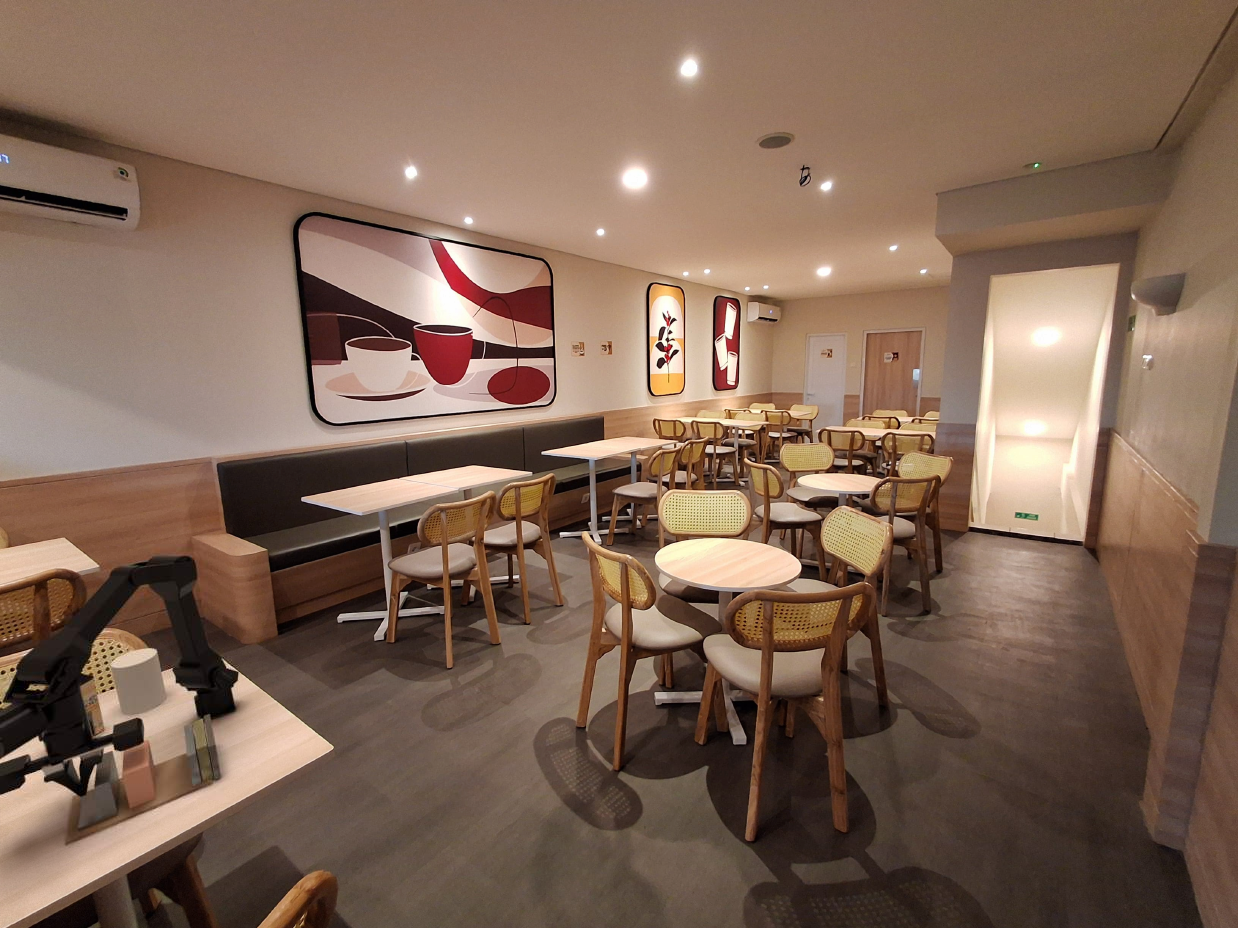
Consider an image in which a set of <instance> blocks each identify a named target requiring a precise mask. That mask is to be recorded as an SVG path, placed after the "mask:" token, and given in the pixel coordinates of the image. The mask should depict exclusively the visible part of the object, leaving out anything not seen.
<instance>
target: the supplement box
mask: <svg viewBox="0 0 1238 928" xmlns="http://www.w3.org/2000/svg"><path fill="white" fill-rule="evenodd" d="M96 687H97V686H96V684H95V678H93V679H92V680H91V681H89V682H87V683H85V684H84V685H82V686H81V691H82V695H83V699H84V703H85V707H86V710H87V712H89V711H92V717H93V722H94V727H95V731H96V732H95V735H94V736H96V735H97V734H99V733H101V732H103V731H104V730H105V729H106V727H105V723H104V719H103V716H102V712H101V711H102V710H101V706H100V701H99V697H98V692H97V688H96ZM42 743H43V746H44V750H45V753H47V751H46V748H45V744H44V741H42Z"/></svg>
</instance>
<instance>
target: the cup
mask: <svg viewBox="0 0 1238 928" xmlns="http://www.w3.org/2000/svg"><path fill="white" fill-rule="evenodd" d="M110 668H111V672H112V673H111V674H112V677H113V681H114V685H115V690H116V695H117V697H118V702H119V707H120V712H121V714H123V715H126V716H128V715H129V716H132V715H133V716H134V715H139V714H142V713H146V712H147V711H151V710H152V709H155V708H156V707H158V706H160V705H162V704H163V703H164V702H165V700H166V699H167V692H166V688H165V687H166V686H165V683H164V678H163V674H162V669H161V664H160V660H159V655H158V651H157V648H149V647H148V648H147V647H146V648H140V649H136V650H133V651H130V652H126V653H125V654H121V655H120V656H118V657H117V658H115V659H113V660H112V661H111V663H110Z"/></svg>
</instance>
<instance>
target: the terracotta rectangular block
mask: <svg viewBox="0 0 1238 928" xmlns="http://www.w3.org/2000/svg"><path fill="white" fill-rule="evenodd" d="M151 749H152V748H151V744H150V740H149V739H146V740H144V742H143V743H142V744H141V745H138V746H136V747H133V748H130V749H127V750H125V751H122V754H123V755H122V768H121V769H122V772H121V773H122V776H121V778H123V781H124V785H125V790H126V794H127V798H128V802H129V807H130V809H131V808H133V807H136V806H138V805H141V804H143V803H146V802H148V801H150V800H153V799H155V798H156V777H155V767H154V765H155V762H154V760H153V759H154V758H153V753H152V750H151Z"/></svg>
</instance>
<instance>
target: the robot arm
mask: <svg viewBox="0 0 1238 928" xmlns="http://www.w3.org/2000/svg"><path fill="white" fill-rule="evenodd" d="M196 563H197V562H196V561H195V559H194V558H193V557H191V556H189V555H177V554H176V555H173V554H172V555H171V554H168V555H167V554H161V555H160V554H156V555H154V556H152V557H150V558H149V559H148V560H145V561H139V562H133V563H130V564H128V565H120V566H117V567H115V568H113V569H112V570H111V571H110V573H109V577H108V578H107V579H106V580H105V582H104V583H103V584H102V585H101V586H100V587H99V588H98V589H97V590H96V592H95V593H94V594H93V595H92V596H91V597H90V598H89V599H88V601H87V602H86V603H85V604H84V605H83V606H82V607H81V608H80V609H79V611H77V613H76V614H75V615H74V616H73V617H72V618H71V619H70V621H69V622H68V623H67V624H66V625H65V626H64V627H63V628H62V629H60V631H58V632H57V633H54V635H51V636H50V637H48V638H45V639H44V640H42V641H40V642H39V643H38V644H37V645H35V647H33V648H32V649H30V651H29V652H28V653H26V654H25V655H24V656H23V657H22V658H21V659H20V660H19V661H18V663H17V665H16V667H15V671H16V672H15V674H14V676H13V678H12V680H11V683H10V684H9V687H8V689H7V690H6V693H5V695H4V697H3V698H2V699H3V700H2V703H3V704H9V705H8V706H6V707H4V708H2V709H0V760H1V759H3V758H5V757H6V756H8V755H10V754H12V753H13V752H14V751H16V750H18V749H19V748H21V747H23V746H24V745H26V744H28V743H29V742H31V741H32V740H34V739H36V738H38V741H39V742H43V741H44V744H45V747H44V749H45V748H46V751H47V752H46V751H45V752H46V754H47V755H44V756H42V757H39V758H35V759H33V760H32V758H31V755H30V754H28V753H27V754H24V755H21V756H18V757H15V758H11V759H9V760H6V761H3V762H0V796H2V795H5V794H7V793H11V792H12V791H15V790H19V789H21V787H22V786H23V785H24V784H25V783H26V781H27V779H26V776H27V775H31V774H32V773H35V772H36V773H37V772H40V771H42V773H43V775H44V777H43V782H44V783H46V784H47V783H49V782H54V783H56V784H59V785H61V786H63V787H65V788H66V789H68V790H69V791H71V792H72V793H74V794H75V795H78V796H79V797H83V796H85V795H86V794H87V791H88V788H89V784H90V779H91V776H92V773H93V770H94V768H95V766H97V764H99V763H101V762H102V761H103V754H104V751H105V748H108V747H110V746H113V751H117V752H121V753H123V751H125V750H127V749H130V748H133V747H136V746H138V745H141V744H142V743H143V742H144V741H145V724H144V721H143V719H142V718H140V717H138V716H137V717H134V718H131V719H129V720H126V721H122V722H120V723H116V724H113V728H112V733H109V734H107V735H103V736H101V735H98V736H96V735H95V732H96V731H95V727H94V722H93V717H92V711H89V712H87V710H86V707H85V703H84V699H83V695H82V691H81V686H82V685H84V684H85V683H87V682H89V681H91V680H92V679H93V678H94V675H91V674H85V673H82V671H83V670H84V668H85V667H86V665H87V664H88V661H89V660H90V658H91V656H92V653H93V652H92V651H93V644H94V643H95V641H96V640H97V639H98V637H99V636H100V634H101V633H102V632H103V631H104V630H105V629H106V627H108V625H109V624H110V623H111V622H112V620H113V619H114V618H115V617H116V616H117V615H118V614H119V612H120V611H121V610H122V608H123V607H124V606H125V605H126V603H127V602H128V601H129V600H130V599H131V598H132V597H133V595H134V594H135V593H136V591H138V589H139V588H140V587H141V586H145V585H148V587H149V588H150V589H151V590H152V591H153V592H154V593H156V594H157V595H158V596H159V597H160V598H161V599H162V600H163V602H164V606H165V608H166V612H167V614H168V618H169V622H170V625H171V627H172V631H173V634H174V637H175V640H176V644H177V645H178V649H179V652H180V658H179V660H178V664H177V665H175V666H173V668H172V670H171V671H172V673H173V675H174V677H175V684H179V686H181V687H183V688H185V690H187V691H188V692H195V693H196V694H195V695H194V696H193V699H194V706H195V711H196V715H197V718H200V719H203V722H204V723H205V721H204V716H205V715H208V714H210V718H211V720H213V719H216V718H219V717H221V716H222V717H223V716H224V715H226V714H230V713H232V712H235V711H236V710H237V706H236V702H235V699H234V695H233V689H232V688H234V686H235V684H236V683H238V681H239V673H240V672H239V671H238V670H234V669H231V668H228V667H227V665H226V664H225V661H224V660H223V658H222V655H220V654H219V653H218V652H216V651H215V650H214V649H213V648H212V647H211V646H210V644H209V642H208V641H209V640H208V638H207V635H206V631H205V628H204V625H203V621H202V618H201V614H200V611H199V607H198V605H197V601H196V598H195V595H194V591H193V590H194V588H195V585H196V583H197V581H198V569H197V564H196ZM94 679H95V678H94ZM30 686H37V687H38V686H39V687H41V686H42V687H46V688H45V689H41V690H39V689H38V690H37V689H29V687H30ZM94 736H95V737H94ZM44 744H43V745H44ZM77 758H79V759H80V762H79V766H78V767H79V768H78V772H77V770H76V767H75V764H74V761H73V760H74V759H77ZM78 773H79V774H78Z"/></svg>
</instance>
